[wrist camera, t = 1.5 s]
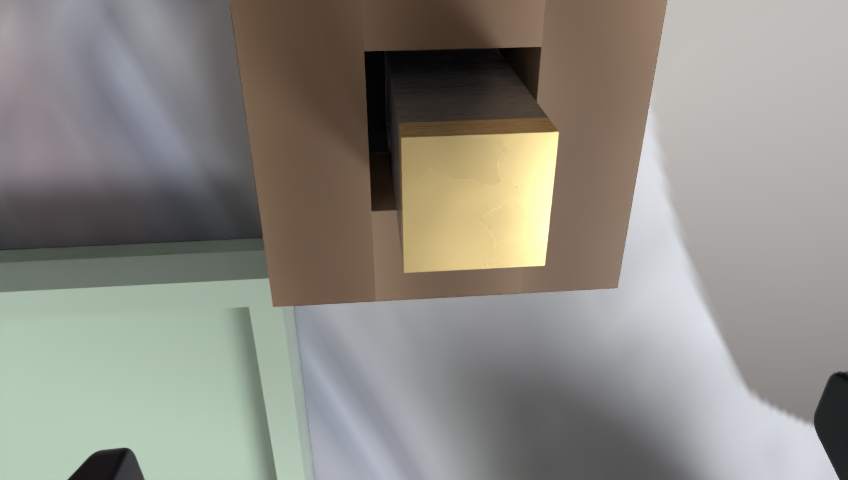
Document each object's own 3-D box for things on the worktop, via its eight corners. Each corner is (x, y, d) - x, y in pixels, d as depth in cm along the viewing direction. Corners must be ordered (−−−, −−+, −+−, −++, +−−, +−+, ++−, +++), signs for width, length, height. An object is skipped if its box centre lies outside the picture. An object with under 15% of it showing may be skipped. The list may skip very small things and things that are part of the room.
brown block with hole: (619, -101, 18) (682, -91, 15) (577, 223, 23) (617, 288, 20) (243, -99, 17) (217, -87, 14) (285, 237, 22) (273, 306, 19)
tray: (285, 237, 22) (277, 278, 20) (319, 512, 29) (316, 565, 27) (-229, 260, 21) (-296, 307, 19) (-65, 543, 28) (-99, 600, 26)
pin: (486, 33, 20) (559, 132, 13) (481, 130, 21) (545, 265, 14) (383, 36, 19) (401, 137, 12) (386, 134, 21) (403, 273, 14)
